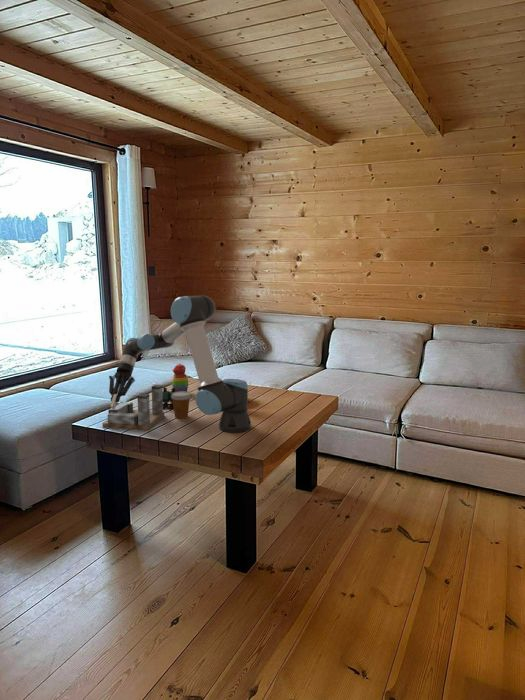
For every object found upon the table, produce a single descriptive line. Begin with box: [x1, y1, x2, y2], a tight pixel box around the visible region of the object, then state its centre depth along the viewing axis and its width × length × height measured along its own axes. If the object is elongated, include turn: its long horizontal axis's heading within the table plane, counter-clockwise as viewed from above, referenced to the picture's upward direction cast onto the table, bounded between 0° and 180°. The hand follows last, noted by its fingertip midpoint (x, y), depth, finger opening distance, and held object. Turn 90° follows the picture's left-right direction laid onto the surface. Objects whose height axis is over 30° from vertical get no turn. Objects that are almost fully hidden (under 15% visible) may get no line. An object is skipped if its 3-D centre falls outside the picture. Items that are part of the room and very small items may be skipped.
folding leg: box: [107, 402, 130, 414], centre depth 237 cm, size 4×4×14 cm
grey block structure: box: [101, 384, 165, 431], centre depth 233 cm, size 23×22×16 cm
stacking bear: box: [171, 363, 189, 392], centre depth 282 cm, size 11×10×18 cm
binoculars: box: [162, 386, 176, 410], centre depth 256 cm, size 9×11×10 cm
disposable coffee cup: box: [171, 391, 191, 420], centre depth 242 cm, size 10×10×12 cm
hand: (112, 407), depth 229 cm, fingers closed
